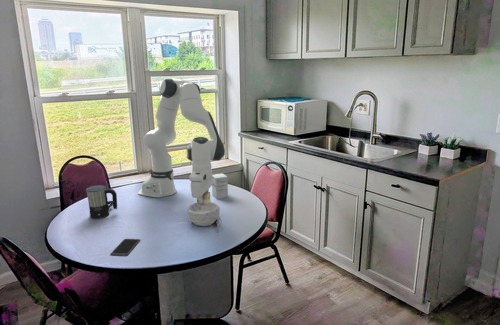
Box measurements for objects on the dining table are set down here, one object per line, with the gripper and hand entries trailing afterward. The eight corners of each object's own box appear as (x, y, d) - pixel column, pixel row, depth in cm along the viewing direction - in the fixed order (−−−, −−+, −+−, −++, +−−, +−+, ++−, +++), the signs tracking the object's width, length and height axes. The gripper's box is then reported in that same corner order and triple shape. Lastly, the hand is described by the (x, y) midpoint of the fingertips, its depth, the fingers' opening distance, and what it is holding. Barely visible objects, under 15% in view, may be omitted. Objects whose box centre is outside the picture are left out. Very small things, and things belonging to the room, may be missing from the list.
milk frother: (92, 220, 173) (88, 192, 169) (83, 211, 185) (80, 184, 181) (121, 213, 182) (118, 186, 178) (111, 204, 193) (108, 179, 190)
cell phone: (109, 256, 140) (109, 254, 140) (124, 239, 154) (124, 238, 153) (127, 257, 140) (127, 255, 139) (141, 240, 153) (140, 239, 153)
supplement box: (212, 195, 206) (211, 174, 203) (223, 193, 209) (223, 172, 206) (216, 199, 200) (215, 178, 197) (228, 197, 203) (227, 176, 200)
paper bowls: (214, 230, 161) (214, 214, 159) (183, 227, 164) (182, 211, 162) (223, 216, 176) (223, 202, 174) (194, 214, 179) (194, 200, 177)
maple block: (197, 204, 166) (196, 194, 164) (200, 201, 170) (200, 191, 169) (207, 205, 165) (206, 195, 163) (210, 201, 169) (210, 191, 168)
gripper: (203, 166, 174) (204, 192, 178) (187, 178, 155) (189, 207, 158) (215, 166, 173) (216, 193, 176) (201, 179, 153) (202, 208, 157)
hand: (203, 200), depth 167 cm, fingers closed on maple block, 5 cm apart
